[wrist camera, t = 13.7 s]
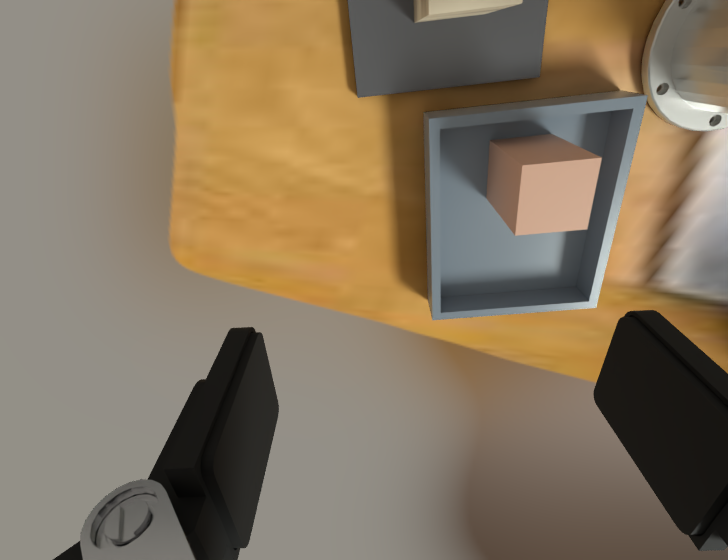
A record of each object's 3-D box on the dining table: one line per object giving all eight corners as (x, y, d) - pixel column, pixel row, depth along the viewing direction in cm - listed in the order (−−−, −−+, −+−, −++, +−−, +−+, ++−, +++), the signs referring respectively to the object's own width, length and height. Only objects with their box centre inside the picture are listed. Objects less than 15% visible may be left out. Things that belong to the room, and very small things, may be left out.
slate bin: (423, 112, 32) (429, 118, 29) (620, 90, 31) (648, 95, 28) (427, 300, 41) (432, 320, 38) (579, 288, 40) (595, 307, 37)
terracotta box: (489, 140, 32) (522, 165, 25) (551, 133, 32) (602, 157, 25) (486, 198, 35) (515, 235, 28) (543, 192, 34) (587, 229, 28)
